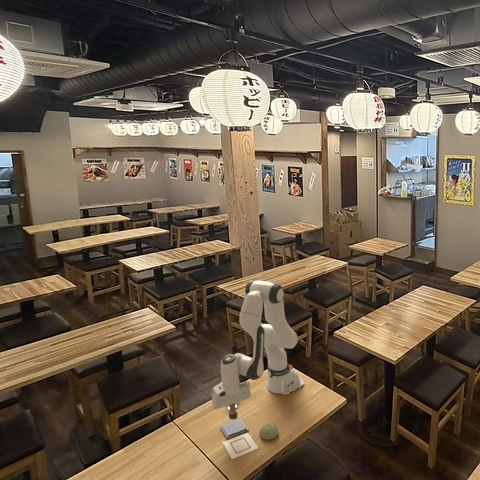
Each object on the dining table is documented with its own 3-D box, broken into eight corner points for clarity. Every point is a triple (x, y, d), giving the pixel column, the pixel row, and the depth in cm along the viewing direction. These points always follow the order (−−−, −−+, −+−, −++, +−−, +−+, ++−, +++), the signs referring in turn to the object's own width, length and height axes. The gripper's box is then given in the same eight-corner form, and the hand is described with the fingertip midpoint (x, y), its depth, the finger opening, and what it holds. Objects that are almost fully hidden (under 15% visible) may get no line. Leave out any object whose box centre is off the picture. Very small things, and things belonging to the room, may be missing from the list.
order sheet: (247, 433, 205) (247, 432, 205) (258, 448, 194) (258, 448, 194) (222, 442, 199) (222, 442, 199) (231, 459, 189) (231, 458, 189)
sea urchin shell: (254, 429, 204) (264, 416, 205) (265, 434, 208) (274, 422, 209) (262, 441, 196) (272, 427, 197) (273, 446, 200) (283, 433, 200)
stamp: (235, 412, 208) (234, 397, 206) (238, 417, 204) (237, 402, 202) (227, 415, 206) (226, 400, 204) (230, 420, 203) (229, 405, 200)
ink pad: (241, 420, 214) (241, 418, 214) (248, 431, 206) (248, 428, 206) (220, 428, 209) (220, 425, 209) (227, 439, 201) (226, 436, 201)
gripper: (246, 377, 208) (248, 400, 211) (209, 388, 200) (212, 412, 203) (252, 383, 202) (253, 407, 206) (214, 395, 194) (216, 420, 198)
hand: (232, 410), depth 204 cm, fingers closed on stamp, 3 cm apart
